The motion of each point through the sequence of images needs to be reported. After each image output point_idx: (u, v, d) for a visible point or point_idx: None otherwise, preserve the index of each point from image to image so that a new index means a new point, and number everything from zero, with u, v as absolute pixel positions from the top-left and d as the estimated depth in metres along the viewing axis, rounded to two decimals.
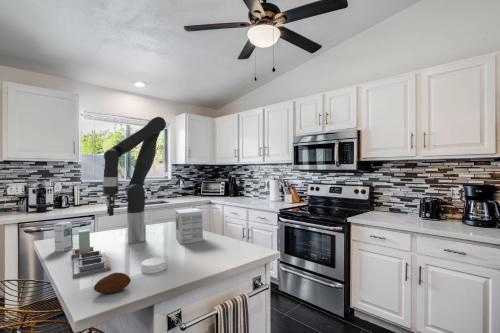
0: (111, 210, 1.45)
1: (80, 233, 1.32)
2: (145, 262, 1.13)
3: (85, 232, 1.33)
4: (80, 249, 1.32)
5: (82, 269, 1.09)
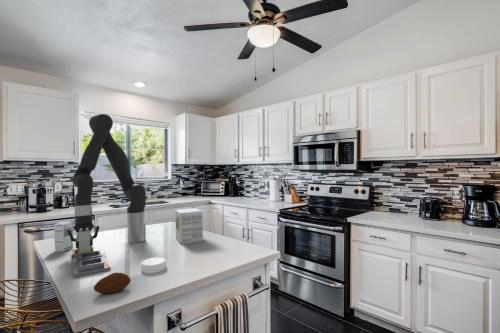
0: None
1: (80, 233, 1.32)
2: (145, 262, 1.13)
3: (85, 232, 1.33)
4: (80, 249, 1.32)
5: (82, 269, 1.09)
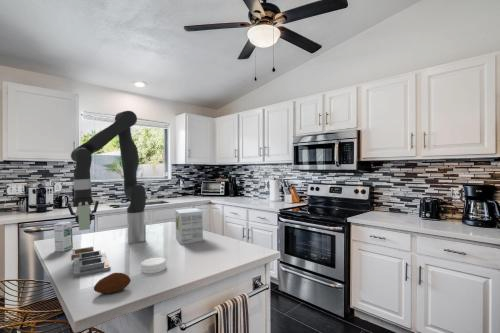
0: None
1: (79, 207, 1.32)
2: (145, 262, 1.13)
3: (84, 206, 1.33)
4: (80, 223, 1.32)
5: (82, 269, 1.09)
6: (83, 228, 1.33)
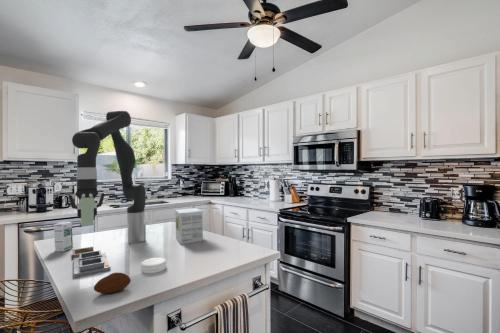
0: None
1: (83, 199, 1.14)
2: (145, 262, 1.13)
3: (88, 199, 1.15)
4: (83, 218, 1.14)
5: (82, 269, 1.09)
6: (86, 224, 1.15)
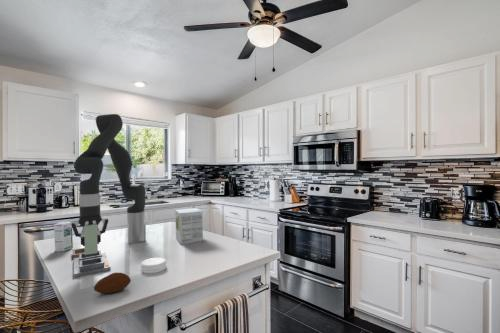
0: None
1: (86, 227, 1.11)
2: (145, 262, 1.13)
3: (92, 226, 1.12)
4: (86, 246, 1.11)
5: (82, 269, 1.09)
6: (90, 252, 1.12)
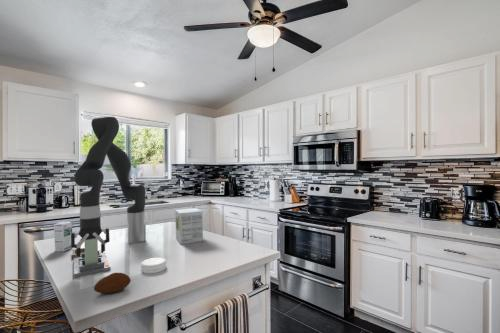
0: None
1: (86, 241, 1.11)
2: (145, 262, 1.13)
3: (92, 240, 1.12)
4: (87, 261, 1.11)
5: (82, 269, 1.09)
6: None
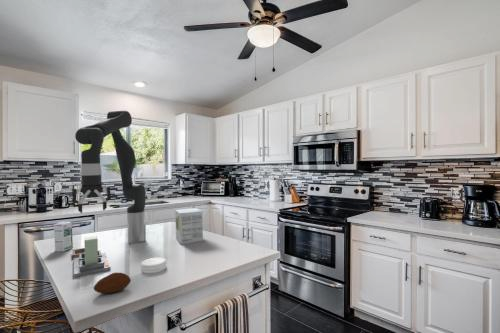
0: None
1: (86, 241, 1.11)
2: (145, 262, 1.13)
3: (92, 240, 1.12)
4: (87, 261, 1.11)
5: (82, 269, 1.09)
6: None
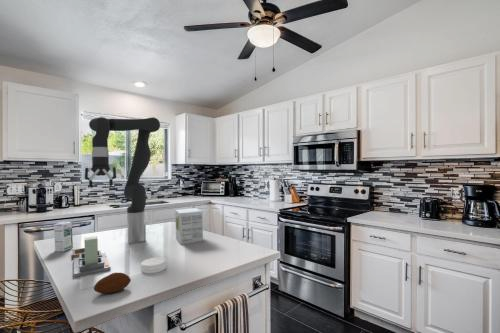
0: None
1: (86, 241, 1.11)
2: (145, 262, 1.13)
3: (92, 240, 1.12)
4: (87, 261, 1.11)
5: (82, 269, 1.09)
6: None
